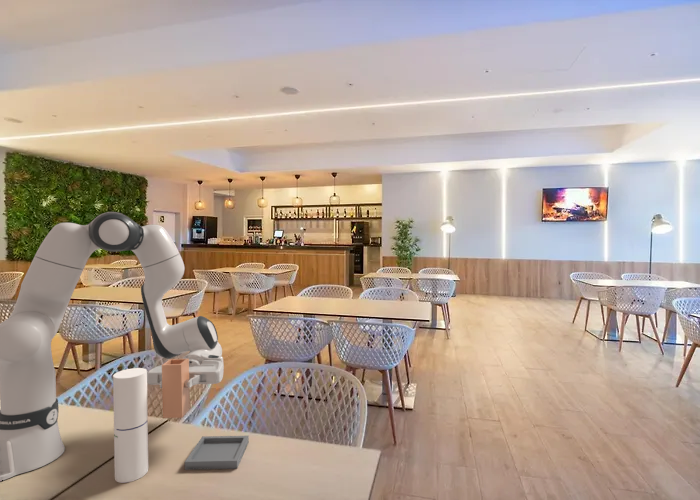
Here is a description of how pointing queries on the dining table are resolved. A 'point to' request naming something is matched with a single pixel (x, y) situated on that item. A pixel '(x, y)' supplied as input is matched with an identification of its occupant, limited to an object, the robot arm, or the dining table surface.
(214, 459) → the tray
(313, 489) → the dining table surface
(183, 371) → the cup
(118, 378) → the cylindrical container
